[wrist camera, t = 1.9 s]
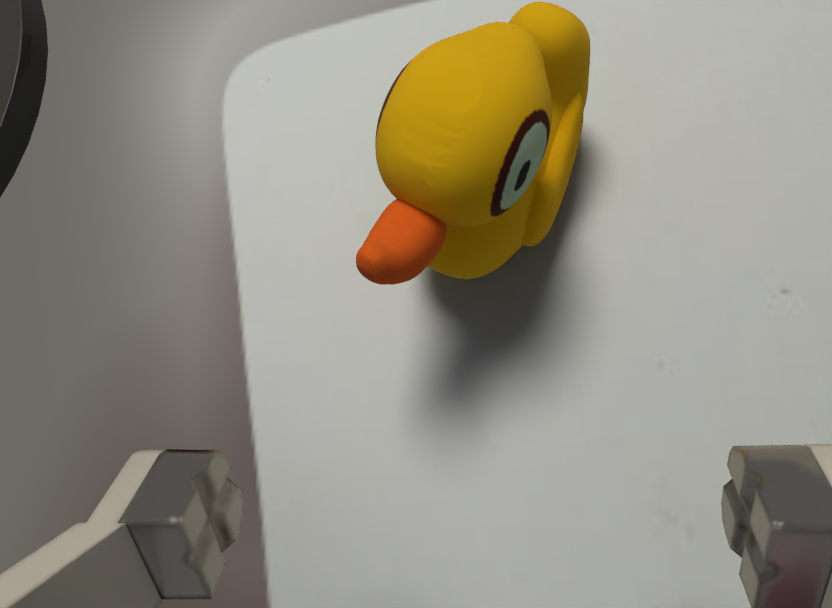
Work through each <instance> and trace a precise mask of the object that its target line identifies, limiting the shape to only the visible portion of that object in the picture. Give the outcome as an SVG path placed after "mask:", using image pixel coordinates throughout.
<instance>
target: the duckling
mask: <svg viewBox="0 0 832 608" xmlns="http://www.w3.org/2000/svg"><path fill="white" fill-rule="evenodd" d="M589 64H590V39H589V34H588V32H587V29H586V27H585V26H584V24H583V23H582V22H581V21H580V20H579V19H578V18H577V17H576V16H575V15H574V14H573V13H571V12H569V11H568V10H566V9H564V8H561V7H559V6H557V5H554V4H551V3H545V2H534V3H530V4H528V5H526V6H524V7H522V8H521V9H520V10H519V11H518V12H517V13H516V14H515V15H514V16H513V17H512V19H511V20H510V21H509V23H506V22H495V23H489V24H485V25H482V26H479V27H477V28H475V29H472V30H470V31H467V32H464V33H461V34H458V35H455V36H452V37H449V38H446V39H443V40H441V41H439V42H436V43H434V44H433V45H431V46H429V47H427V48H426V49H424V50H423V51H422V52H420V53H419V54H418V55H417V56H415V57H414V58H413V59H412V60H411V61H410V62H409V63H408V64H407V65H406V66H405V67H404V69H403V70H402V71H401V72H400V74H399V75H398V77H397V78H396V80H395V81H394V83H393V84H392V86H391V88H390V90H389V92H388V94H387V96H386V98H385V101H384V103H383V106H382V109H381V112H380V116H379V120H378V124H377V131H376V159H377V164H378V168H379V172H380V174H381V177H382V179H383V181H384V183H385V185H386V186H387V188H388V189H389V191H390V192H391V193H392V194H393V195H394V196H395V197H396V198H397V199H396V200H394V201H393V202H392V203H391V204H389V205H388V207H387V208H386V209H385V210H384V211H383V213H382V214H381V216H380V217H379V219H378V220H377V222H376V223H375V225H374V226H373V228H372V230H371V231H370V233H369V235H368V237H367V239H366V240H365V242H364V244H363V245H362V247H361V248H360V249H359V251H358V253H357V256H356V264H357V268H358V270H359V272H360V273H361V274H362V275H363V276H364V277H365V278H367V279H368V280H370V281H372V282H374V283H377V284H398V283H402V282H405V281H408V280H411V279H413V278H414V277H416V276H417V275H418V274H420V273H421V272H422V271H423V270H424V269H425V268H426V267H427V266H428V267H429V268H431V269H433V270H435V271H437V272H440V273H442V274H445V275H448V276H451V277H454V278H459V279H474V278H478V277H482V276H484V275H487V274H489V273H491V272H493V271H494V270H496V269H497V268H499V267H500V266H501V265H503V264H504V263H505V262H506V261H507V260H508V259H510V258H511V257H512V256H513V255H514V254H515V253H516V252H517V251H518V249H519V248H520V247H521V246H522V245H524V246H534V245H536V244H538V243H539V242H541V241H542V240H543V239H544V237H545V236H546V235H547V233H548V232H549V230H550V228H551V226H552V224H553V222H554V220H555V217H556V215H557V212H558V210H559V207H560V204H561V202H562V199H563V196H564V194H565V191H566V187H567V184H568V181H569V177H570V174H571V170H572V167H573V164H574V160H575V156H576V153H577V149H578V145H579V140H580V136H581V131H582V124H583V111H584V107H585V103H586V98H587V91H588V78H589Z"/></svg>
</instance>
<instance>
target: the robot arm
mask: <svg viewBox="0 0 832 608" xmlns="http://www.w3.org/2000/svg"><path fill="white" fill-rule="evenodd" d="M727 466H728V469H729V471H730V474H731V476H732V479H731V480H730V481H729V482H728V483H727V484H726V485H724V486H723V494H722V502H721V503H722V520H723V525H724V529H725V534H726V537H727V540H728V543H729V546H730V548H731V549H732V550H733V551H734V552H735V553H737V554H738V555H739V556H740V557H741V558H742V562H741V567H740V572H739V575H740V578H741V580H742V583H743V586H744V589H745V591H746V594H747V597H748V600H749V603H750V605H751V608H832V444H808V445H803V446H802V445H764V446H733V447H732V449H731V451H730V452H729V458H728V463H727ZM231 468H232V466H231V464H230V461H229V459H228V456H227V454H226V453H225V452H223V451H220V450H171V449H169V450H168V449H167V450H141V449H140V450H138V451H137V452H135V453H133V454H132V455H131V456H130V458H129V459H128V461H127V462H126V464H125V465H124V467H123V468H122V470H121V471H120V473H119V474H118V476H117V477H116V479H115V480H114V482H113V483H112V485H111V486H110V488H109V489H108V491H107V492H106V494H105V495H104V497H103V498H102V500H101V501H100V503H99V504H98V506H97V507H96V509H95V511H94V512H93V514H92V515H91V516H90V518H89V519H88V521H87V522H86V523H77V524H75V525H74V526H72V527H71V528H70V529H68V530H66V531H65V532H63V533H62V534H61V535H59V536H58V537H56V538H55V539H53V540H51V541H50V542H48V543H47V544H45V545H44V546H42V547H41V548H40V549H38V550H37V551H35V552H34V553H32V554H31V555H29V556H27V557H26V558H24V559H23V560H21V561H20V562H18V563H17V564H15V565H14V566H12V567H11V568H10V569H8V570H6V571H5V572H3V573H2V574H0V608H157V607H158V606H159V605H160V604H161V603H162V599H212V596H213V594H214V591H215V589H216V587H217V584H218V582H219V579H220V577H221V575H222V572H223V570H224V567H225V565H226V563H225V561H224V558H223V555H222V552H223V551H224V550H226V549H227V548H228V547H229V546H230V545H231V544H233V543H234V542H235V540H236V538H237V535H238V533H239V530H240V527H241V521H242V514H243V504H242V496H241V493H240V490H239V487H238V485H236V484H235V483H234V482H233V481H232V480H230V479H229V478H228V477H227V476H228V474H229V471H230V470H231Z"/></svg>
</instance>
